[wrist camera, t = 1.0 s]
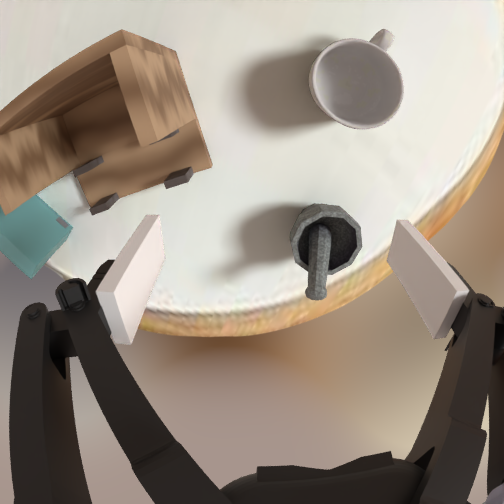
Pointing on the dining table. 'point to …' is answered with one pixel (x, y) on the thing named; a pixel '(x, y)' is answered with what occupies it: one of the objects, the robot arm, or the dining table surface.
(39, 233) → the door
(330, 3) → the dining table surface
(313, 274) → the mortar and pestle
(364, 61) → the teacup
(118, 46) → the cabinet
